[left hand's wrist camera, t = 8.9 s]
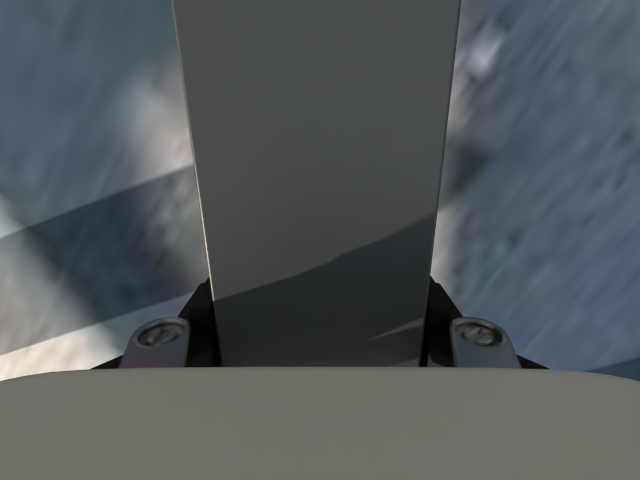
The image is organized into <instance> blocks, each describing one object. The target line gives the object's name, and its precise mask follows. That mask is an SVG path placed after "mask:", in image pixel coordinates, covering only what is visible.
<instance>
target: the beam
mask: <svg viewBox="0 0 640 480" xmlns="http://www.w3.org/2000/svg"><path fill="white" fill-rule="evenodd" d="M171 3H172V10H173V17H174V24H175V32H176V39H177V46H178V53H179V60H180V68H181V75H182V82H183V89H184V96H185V104H186V111H187V118H188V125H189V132H190V140H191V147H192V154H193V161H194V168H195V176H196V183H197V190H198V197H199V204H200V211H201V219H202V226H203V233H204V240H205V247H206V255H207V262H208V269H209V276H210V283H211V291H212V298H213V305H214V312H215V319H216V327H217V334H218V341H219V348H220V355H221V363H222V367H420V360H421V351H422V342H423V333H424V325H425V316H426V307H427V298H428V289H429V281H430V272H431V263H432V254H433V245H434V237H435V228H436V219H437V210H438V201H439V193H440V184H441V175H442V166H443V157H444V149H445V140H446V131H447V122H448V113H449V105H450V96H451V87H452V78H453V69H454V61H455V52H456V43H457V34H458V25H459V16H460V8H461V0H171Z"/></svg>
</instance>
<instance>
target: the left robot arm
mask: <svg viewBox="0 0 640 480" xmlns="http://www.w3.org/2000/svg"><path fill="white" fill-rule="evenodd" d="M0 480H640V381H636V380H632V379H628V378H622V377H617V376H612V375H606V374H598V373H590V372H581V371H566V370H551V369H549V368H546V367H544V366H542V365H539V364H537V363H535V362H532V361H530V360H528V359H526V358H523V357H521V356H519V355H516V353H515V350H514V348H513V345H512V343H511V340H510V338H509V336H508V334H507V333H506V332H505V331H504V330H503V329H502V328H501V327H499V326H498V325H496V324H494V323H492V322H490V321H487V320H484V319H480V318H475V317H463V316H462V315H461V313H460V312H459V310H458V309H457V307H456V306H455V305H454V303H453V302H452V300H451V299H450V297H449V296H448V295H447V293H446V292H445V290H444V289H443V287H442V286H441V285H440V284H439V283H435V281H434V280H433V278H432V277H431V276H430V281H429V289H428V298H427V307H426V316H425V325H424V333H423V342H422V351H421V360H420V367H222V363H221V355H220V348H219V341H218V334H217V327H216V319H215V312H214V305H213V298H212V291H211V283H210V276H209V278H208V279H207V281H206V282H205V283H201V284H200V285H199V287H198V288H197V289H196V291H195V292H194V294H193V295H192V297H191V298H190V299H189V301H188V302H187V304H186V305H185V307H184V308H183V309H182V311H181V312H180V314H179V315H178V317H165V318H160V319H156V320H153V321H150V322H148V323H146V324H144V325H142V326H141V327H139V328H138V329H137V330H136V331H135V332H134V333H133V334H132V336H131V338H130V340H129V343H128V345H127V348H126V350H125V353H124V355H122V356H119V357H117V358H115V359H112V360H110V361H108V362H106V363H103V364H101V365H99V366H96V367H94V368H92V369H89V370H74V371H60V372H49V373H42V374H35V375H28V376H23V377H18V378H13V379H8V380H3V381H0Z"/></svg>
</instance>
